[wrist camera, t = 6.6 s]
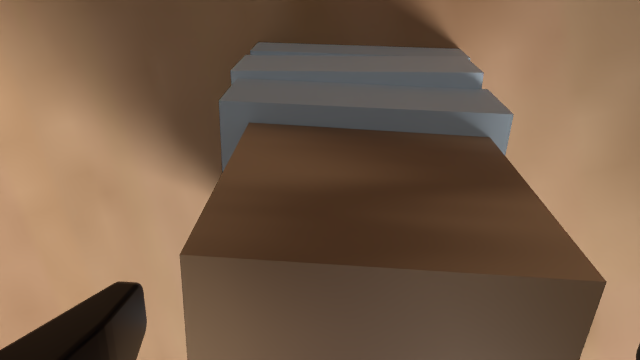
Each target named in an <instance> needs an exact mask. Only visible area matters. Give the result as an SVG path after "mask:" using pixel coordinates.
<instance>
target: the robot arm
mask: <svg viewBox="0 0 640 360" xmlns="http://www.w3.org/2000/svg"><path fill="white" fill-rule="evenodd" d="M146 324H147V319H146V310H145V302H144V293H143V288H142V286H141V285H140V284H139V283H136V282H116V283H114V284H112V285H110V286H109V287H107V288H105V289H104V290H102V291H100V292H99V293H97V294H95V295H93V296H92V297H90V298H88V299H87V300H85V301H83V302H81V303H80V304H78V305H76V306H75V307H73V308H71V309H69V310H68V311H66V312H64V313H63V314H61V315H59V316H58V317H56V318H54V319H52V320H51V321H49V322H47V323H46V324H44V325H42V326H40V327H39V328H37V329H35V330H34V331H32V332H30V333H28V334H27V335H25V336H23V337H22V338H20V339H18V340H17V341H15V342H13V343H11V344H10V345H8V346H6V347H5V348H3V349H1V350H0V360H136V359H137V356H138V353H139V350H140V347H141V344H142V341H143V338H144V335H145V331H146ZM636 360H640V344H639V347H638V349H637V353H636Z"/></svg>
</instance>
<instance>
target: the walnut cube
mask: <svg viewBox="0 0 640 360" xmlns="http://www.w3.org/2000/svg"><path fill="white" fill-rule="evenodd" d="M180 265H181V279H182V292H183V306H184V319H185V332H186V346H187V359H188V360H579V359H580V356H581V353H582V350H583V347H584V345H585V342H586V339H587V336H588V333H589V330H590V327H591V325H592V322H593V319H594V316H595V313H596V310H597V308H598V305H599V302H600V299H601V296H602V293H603V290H604V288H605V285H606V281H605V280H604V278H603V277H602V276H601V275H600V273H599V272H598V271H597V270H596V268H595V267H594V266H593V265H592V263H591V262H590V261H589V260H588V258H587V257H586V256H585V255H584V253H583V252H582V251H581V250H580V248H579V247H578V246H577V245H576V243H575V242H574V241H573V240H572V238H571V237H570V236H569V235H568V234H567V232H566V231H565V230H564V229H563V227H562V226H561V225H560V224H559V222H558V221H557V220H556V219H555V217H554V216H553V215H552V214H551V212H550V211H549V210H548V209H547V207H546V206H545V205H544V204H543V202H542V201H541V200H540V199H539V197H538V196H537V195H536V194H535V193H534V191H533V190H532V189H531V188H530V186H529V185H528V184H527V183H526V181H525V180H524V179H523V178H522V176H521V175H520V174H519V173H518V171H517V170H516V169H515V168H514V166H513V165H512V164H511V163H510V161H509V160H508V159H507V158H506V156H505V155H504V154H503V153H502V152H501V150H500V149H499V148H498V147H497V145H496V144H495V143H494V142H493V140H492V139H491V138H490V137H479V136H462V135H446V134H430V133H413V132H397V131H381V130H364V129H348V128H332V127H315V126H299V125H283V124H266V123H250V122H249V123H248V125H247V127H246V129H245V131H244V133H243V135H242V137H241V138H240V140H239V142H238V144H237V146H236V148H235V150H234V152H233V154H232V156H231V158H230V159H229V161H228V163H227V165H226V167H225V169H224V171H223V173H222V175H221V177H220V179H219V181H218V182H217V184H216V186H215V188H214V190H213V192H212V194H211V196H210V198H209V200H208V202H207V203H206V205H205V207H204V209H203V211H202V213H201V215H200V217H199V219H198V221H197V223H196V225H195V226H194V228H193V230H192V232H191V234H190V236H189V238H188V240H187V242H186V244H185V246H184V247H183V249H182V251H181V253H180Z"/></svg>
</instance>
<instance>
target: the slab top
mask: <svg viewBox="0 0 640 360" xmlns="http://www.w3.org/2000/svg"><path fill="white" fill-rule="evenodd" d="M219 114H220V135H221V155H222V173H223V171H224V169H225V167H226V165H227V163H228V161H229V159H230V158H231V156H232V154H233V152H234V150H235V148H236V146H237V144H238V142H239V140H240V138H241V137H242V135H243V133H244V131H245V129H246V127H247V125H248V123H249V122H250V123H266V124H283V125H299V126H315V127H332V128H348V129H364V130H381V131H397V132H413V133H430V134H446V135H462V136H479V137H490V138H491V139H492V140H493V142H494V143H495V144H496V145H497V147H498V148H499V149H500V150H501V152H502V153H503V154H504V155H505V154H506V149H507V144H508V139H509V134H510V129H511V125H512V120H513V115H514V114H513V113H512V112H511V111H510V110H508V109H507V108H506V107H505V106H504V105H503V104H502V103H501V102H500V101H499V100H498V99H497V98H496V97H495V96H494V95H493V94H492V93H491V92H490V91H489V90H488V89H467V88H446V87H424V86H402V85H380V84H359V83H337V82H315V81H293V80H271V79H249V78H237V79H236V80H235V81H234V83H233V84H232V85H231V86H230V88H229V89H228V90H227V91H226V92H225V94H224V95H223V96H222V97H221V99H220V100H219Z"/></svg>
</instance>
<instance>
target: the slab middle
mask: <svg viewBox="0 0 640 360" xmlns="http://www.w3.org/2000/svg"><path fill="white" fill-rule="evenodd" d="M483 74H484V73H483V72H482V71H481V70H480V69H479V68H478V67H477V66H475V65H474V64H473V63H472V62H471V61H470V60H469V59H467V58H466V57H465V56H336V55H245V56H244V57H243V58H242V59H241V60H240V61H239V62H238V63H237V64H236V65H235V66H234V67H233V68H232V70H231V84H233V83H234V81H235V80H236V79H237V78H249V79H271V80H293V81H315V82H337V83H359V84H380V85H402V86H424V87H446V88H467V89H482V81H483Z"/></svg>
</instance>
